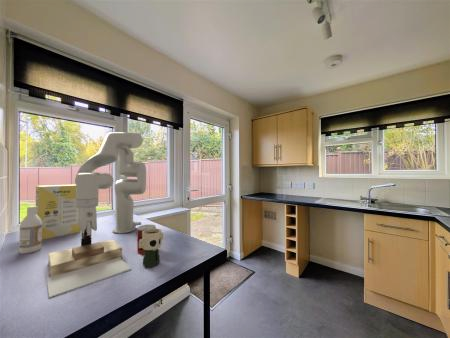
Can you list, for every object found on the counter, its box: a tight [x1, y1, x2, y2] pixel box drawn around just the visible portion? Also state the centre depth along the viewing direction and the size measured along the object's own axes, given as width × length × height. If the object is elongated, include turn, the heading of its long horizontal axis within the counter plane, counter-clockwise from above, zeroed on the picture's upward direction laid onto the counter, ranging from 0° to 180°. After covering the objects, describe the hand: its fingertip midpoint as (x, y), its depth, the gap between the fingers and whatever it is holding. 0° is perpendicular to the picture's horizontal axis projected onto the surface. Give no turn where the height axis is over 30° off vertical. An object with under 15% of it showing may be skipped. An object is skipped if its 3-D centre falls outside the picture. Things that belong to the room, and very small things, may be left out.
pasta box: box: [35, 183, 82, 240], centre depth 108 cm, size 18×10×28 cm, turn 142°
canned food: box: [136, 224, 157, 255], centre depth 85 cm, size 8×8×11 cm
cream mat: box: [46, 257, 132, 299], centre depth 65 cm, size 22×13×1 cm, turn 136°
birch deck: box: [48, 238, 123, 277], centre depth 76 cm, size 22×14×4 cm, turn 136°
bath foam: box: [18, 205, 43, 255], centre depth 84 cm, size 7×7×20 cm
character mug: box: [139, 228, 164, 268], centre depth 73 cm, size 11×7×13 cm, turn 149°
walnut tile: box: [71, 241, 104, 261], centre depth 72 cm, size 9×7×2 cm
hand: (86, 247), depth 76 cm, fingers closed
